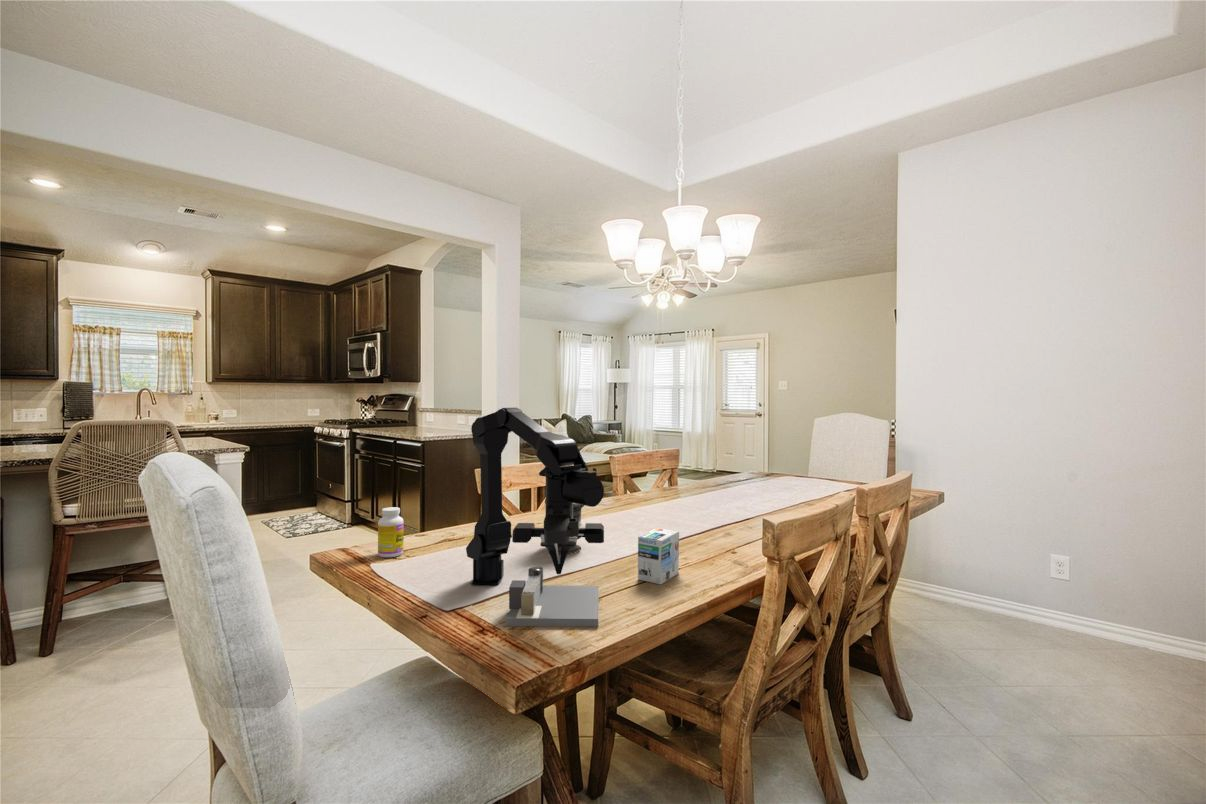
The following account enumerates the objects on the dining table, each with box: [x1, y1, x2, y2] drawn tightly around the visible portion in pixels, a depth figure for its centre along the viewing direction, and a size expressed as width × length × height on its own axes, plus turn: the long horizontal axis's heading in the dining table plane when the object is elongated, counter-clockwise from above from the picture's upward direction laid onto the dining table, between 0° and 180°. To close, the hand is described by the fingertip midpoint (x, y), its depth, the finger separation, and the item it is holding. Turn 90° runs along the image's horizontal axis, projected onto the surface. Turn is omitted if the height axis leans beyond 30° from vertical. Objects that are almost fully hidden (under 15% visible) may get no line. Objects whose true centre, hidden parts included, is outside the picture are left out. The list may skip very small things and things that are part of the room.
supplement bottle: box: [377, 506, 405, 559], centre depth 151 cm, size 7×7×13 cm
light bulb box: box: [637, 527, 680, 585], centre depth 136 cm, size 11×7×11 cm, turn 148°
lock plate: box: [506, 579, 600, 627], centre depth 115 cm, size 18×18×6 cm
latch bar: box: [521, 566, 544, 615], centre depth 115 cm, size 15×3×5 cm, turn 0°
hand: (558, 573), depth 113 cm, fingers closed
